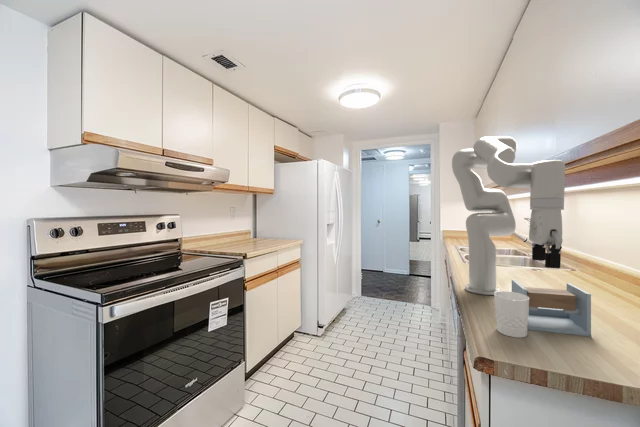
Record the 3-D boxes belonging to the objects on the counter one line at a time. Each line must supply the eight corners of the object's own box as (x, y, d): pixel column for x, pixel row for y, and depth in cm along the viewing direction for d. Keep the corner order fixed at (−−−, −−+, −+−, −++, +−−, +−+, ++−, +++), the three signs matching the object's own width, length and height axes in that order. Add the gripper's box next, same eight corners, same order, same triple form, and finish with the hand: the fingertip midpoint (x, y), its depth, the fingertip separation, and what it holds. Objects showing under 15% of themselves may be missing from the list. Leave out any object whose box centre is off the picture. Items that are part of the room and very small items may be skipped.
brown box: (521, 299, 84) (521, 286, 84) (564, 303, 80) (564, 289, 80) (529, 306, 78) (529, 292, 78) (575, 310, 75) (575, 295, 75)
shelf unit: (511, 314, 87) (511, 279, 87) (570, 320, 82) (569, 283, 82) (523, 328, 77) (523, 289, 77) (591, 336, 72) (590, 294, 71)
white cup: (523, 342, 69) (523, 302, 69) (489, 331, 76) (488, 294, 76) (534, 333, 74) (534, 296, 74) (501, 323, 80) (501, 289, 80)
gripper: (521, 204, 88) (520, 257, 89) (542, 205, 72) (541, 270, 73) (549, 203, 86) (548, 258, 86) (579, 205, 69) (577, 272, 70)
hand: (545, 263), depth 80 cm, fingers open, 9 cm apart
